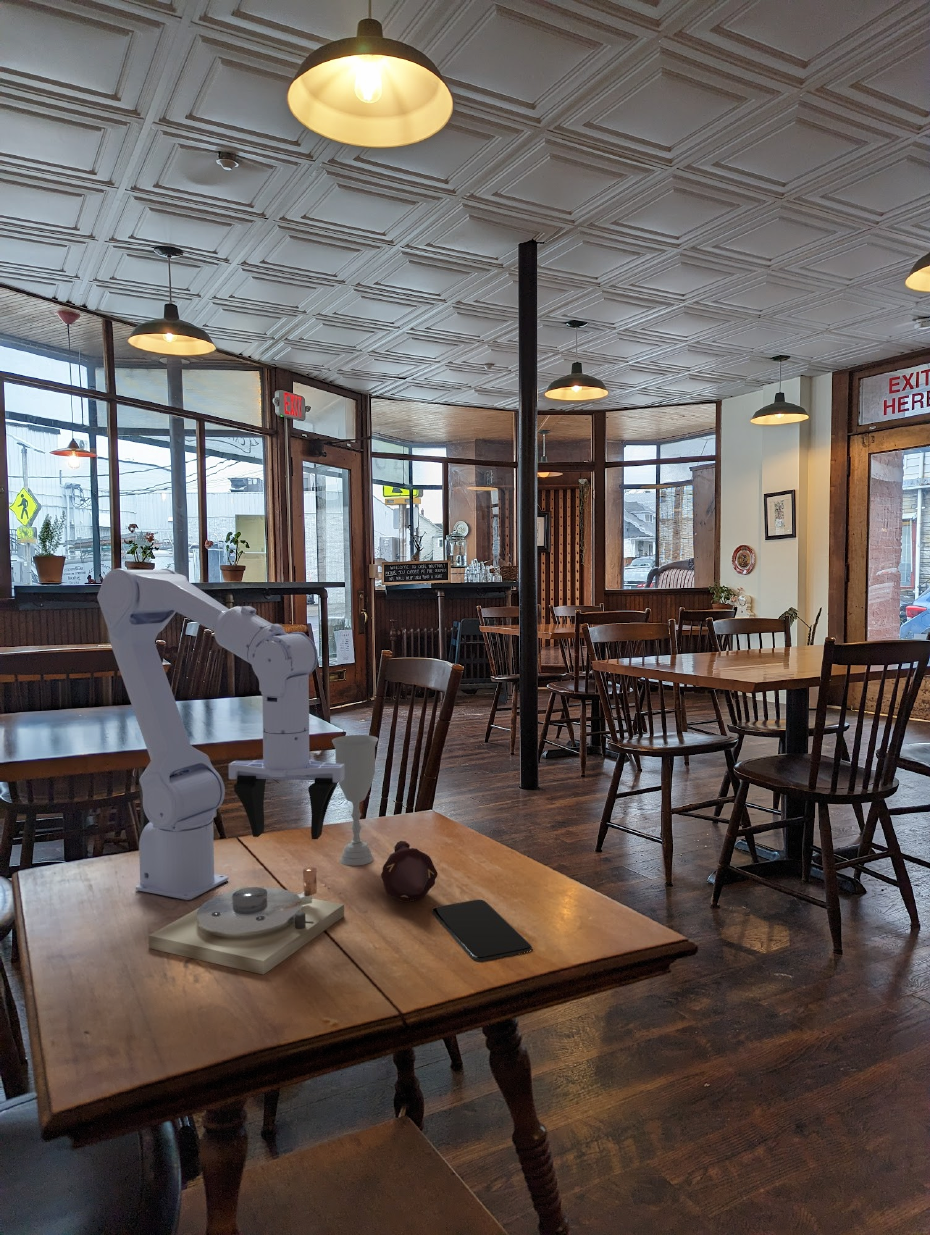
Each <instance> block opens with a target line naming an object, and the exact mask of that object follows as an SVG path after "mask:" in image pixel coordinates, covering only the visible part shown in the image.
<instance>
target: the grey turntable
mask: <svg viewBox="0 0 930 1235" xmlns="http://www.w3.org/2000/svg"><path fill="white" fill-rule="evenodd" d="M302 882H303V883H302V884H303V885H302V886H303V887H302V888H303V892H302V893H298V894H297V893H295V892H292V891H291V890H288V889H283V888H279V887H270V886H269V887H268V886H267V887H266V886H265V887H264V886H263V887H261V886H260V887H259V886H253V887H252V886H251V887H249V886H248V887H249V888H243V889H240V890H235V891H231V890H230V891H231V892H229V891H227V892H225V893H224V892H223V893H221V894H218V895H216V896H213V897H211V898H210V899H208V900H206V901H205V902H204V903H203V904H201V905H200V906H199V907H198V908H199V909H198V908H197V909H198V912H197V923H198V926H199V928H200V929H201V930H203V931H204V932H206V933H209V934H211V935H215V936H221V937H233V938H239V937H252V936H258V935H263V934H267V933H271V932H274V931H277V930H280V929H282V928H285V927H287V926H289V925H290V924H292V923H293V922H295V914H296V913H299V912H302V905H306V904H310V903H312V899H313V895H315V894H317V891H318V890H317V868H316V867H311V866H310V867H306V868H303V869H302Z"/></svg>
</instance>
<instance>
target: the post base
mask: <svg viewBox="0 0 930 1235" xmlns="http://www.w3.org/2000/svg"><path fill="white" fill-rule="evenodd" d="M243 888H249V886H244V885H238V886H236V887H235V888H233V889H231V890H229V891H228V892H231V891H235V890H240V889H243ZM199 908H200V907H198V908H196V909H195V910H193V911H192V910H191V912H189V913H186V914H185V915H183V916H181V917H180V918H178V919H176V920H173V921H171V922H170V923H169V924H167V925H164V926H163V927H161V928H159V929H158V930H155V931H153V932H152V933H150V934H149V935H148V948H149V949H152V950H156V951H159V952H165V953H168V954H173V955H177V956H182V957H186V958H189V959H190V958H191V959H194V960H199V961H203V962H207V963H212V964H217V965H219V966H220V965H221V966H225V967H228V968H233V969H238V970H240V971H241V970H243V971H247V972H251V973H254V974H259V975H263V976H264V975H265V974H267V973H269V971H272V969H274V968H275V967H277V966H278V965H279V964H281V963H282V962H283V961H285V960H286V959H287V958H289V957H290V956H291V955H293V954H294V953H296V952H297V951H298V950H300V949H302V947H304V946H305V945H306V944H309V943H310V942H311V941H312V940H314V939H315V938H317V937H318V936H319V935H320V934H322V933H323V932H325V931H326V930H327V929H329V928H330V927H331V926H332V925H334V924H336V923H337V922H338V921H340V920H341V919H343V918H344V917H345V904H344V903H339V902H334V901H333V902H332V901H329V900H322V899H316V898H312V903H310V904H306V905H302V912H299V913H296V914H295V922H293V923H292V924H290V925H289V926H287V927H285V928H282V929H280V930H277V931H274V932H271V933H267V934H263V935H258V936H252V937H239V938H233V937H221V936H215V935H211V934H209V933H206V932H204V931H203V930H201V929H200V928H199V926H198V923H197V912H198V909H199Z"/></svg>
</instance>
